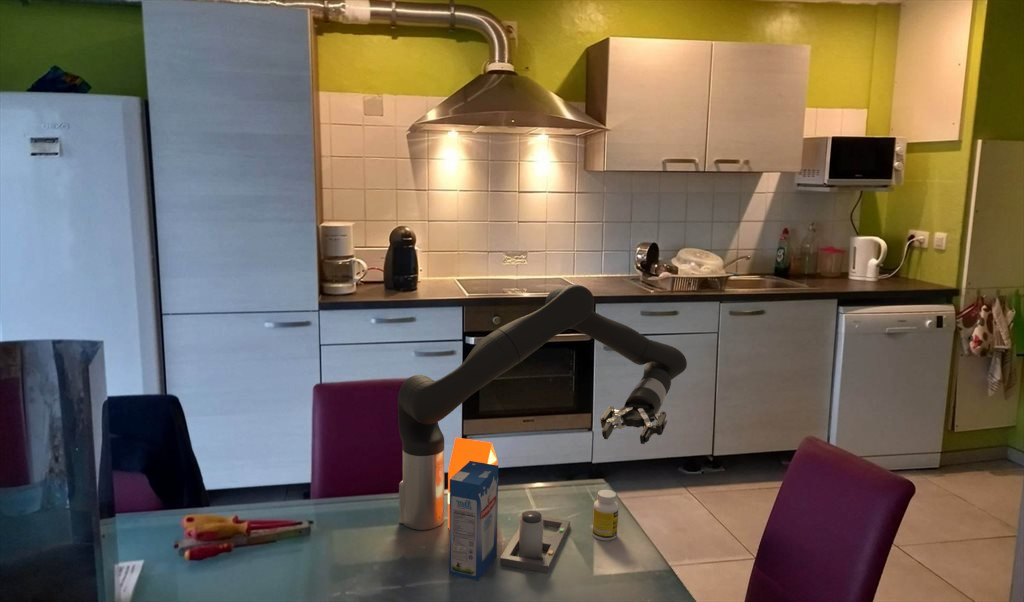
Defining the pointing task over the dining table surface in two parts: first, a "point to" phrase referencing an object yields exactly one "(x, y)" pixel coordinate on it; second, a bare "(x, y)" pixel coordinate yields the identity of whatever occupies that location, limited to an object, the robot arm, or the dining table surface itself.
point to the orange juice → (468, 458)
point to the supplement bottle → (605, 516)
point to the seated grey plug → (531, 535)
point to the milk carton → (473, 520)
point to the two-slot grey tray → (548, 544)
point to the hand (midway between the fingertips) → (623, 438)
